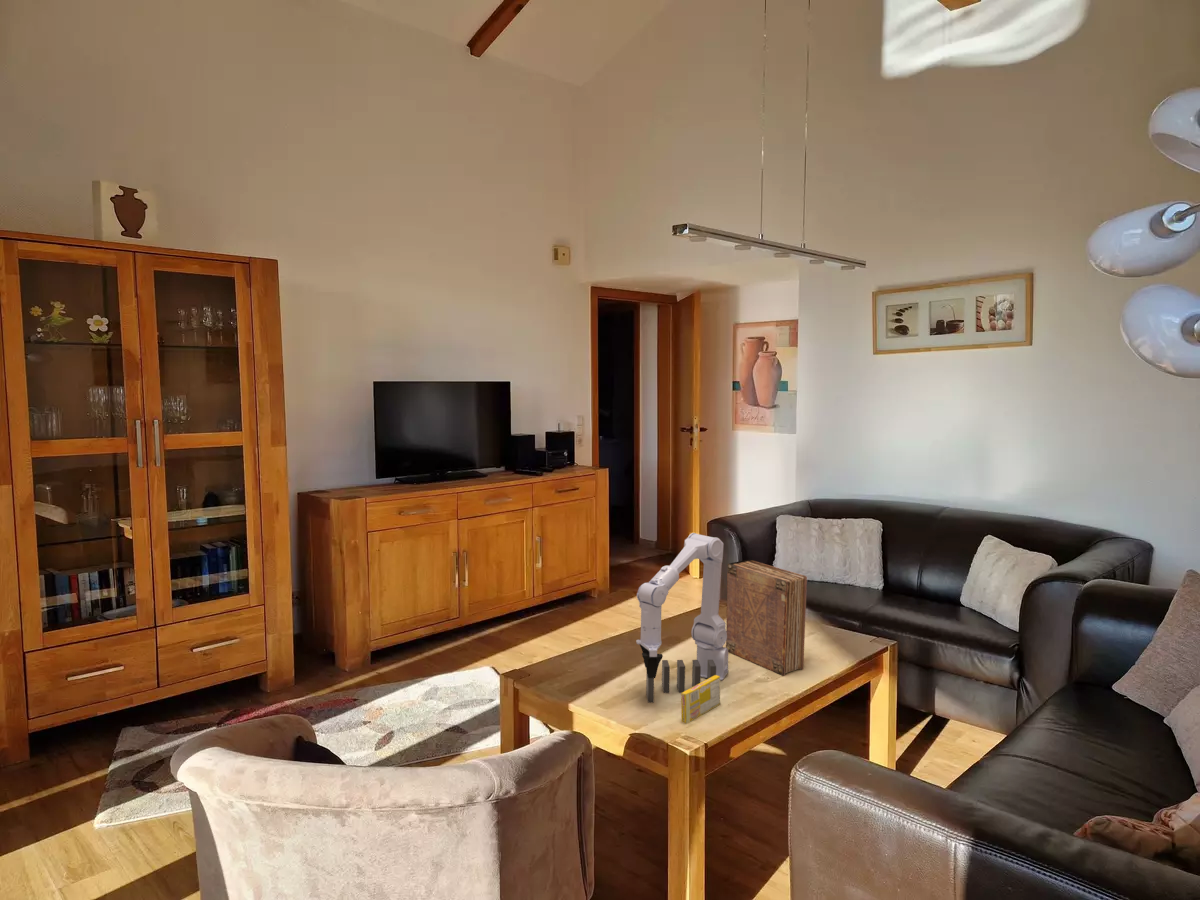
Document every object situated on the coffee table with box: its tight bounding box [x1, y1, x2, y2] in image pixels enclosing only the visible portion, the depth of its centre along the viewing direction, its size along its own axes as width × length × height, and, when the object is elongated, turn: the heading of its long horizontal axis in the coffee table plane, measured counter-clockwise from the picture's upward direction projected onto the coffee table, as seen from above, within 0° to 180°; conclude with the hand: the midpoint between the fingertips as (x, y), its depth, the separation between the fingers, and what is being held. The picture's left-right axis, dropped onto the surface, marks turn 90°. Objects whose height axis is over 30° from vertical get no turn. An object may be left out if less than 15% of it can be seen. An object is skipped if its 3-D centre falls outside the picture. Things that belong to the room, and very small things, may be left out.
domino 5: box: [706, 660, 716, 680], centre depth 230 cm, size 2×5×8 cm, turn 2°
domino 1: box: [645, 675, 655, 704], centre depth 223 cm, size 2×5×8 cm, turn 2°
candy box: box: [680, 675, 721, 724], centre depth 215 cm, size 16×2×8 cm, turn 138°
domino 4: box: [691, 659, 702, 688], centre depth 230 cm, size 2×5×8 cm, turn 2°
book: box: [725, 559, 808, 677], centre depth 251 cm, size 25×9×30 cm, turn 35°
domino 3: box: [676, 659, 686, 694], centre depth 230 cm, size 2×5×8 cm, turn 3°
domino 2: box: [661, 659, 671, 694], centre depth 230 cm, size 2×5×8 cm, turn 2°
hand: (650, 672), depth 223 cm, fingers open, 7 cm apart
